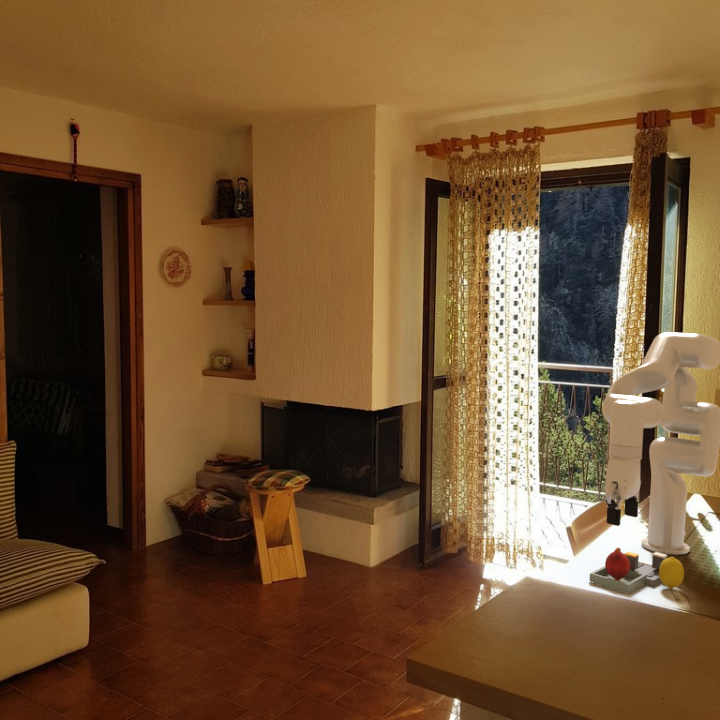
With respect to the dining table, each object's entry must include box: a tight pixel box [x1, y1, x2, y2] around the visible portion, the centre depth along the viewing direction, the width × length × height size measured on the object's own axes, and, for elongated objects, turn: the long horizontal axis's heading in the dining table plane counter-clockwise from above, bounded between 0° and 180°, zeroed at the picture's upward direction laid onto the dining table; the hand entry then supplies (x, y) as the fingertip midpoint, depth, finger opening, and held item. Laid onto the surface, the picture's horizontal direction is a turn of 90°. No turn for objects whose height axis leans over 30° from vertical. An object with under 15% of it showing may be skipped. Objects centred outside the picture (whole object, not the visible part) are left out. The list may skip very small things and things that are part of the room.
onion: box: [604, 547, 630, 580], centre depth 183 cm, size 6×6×8 cm
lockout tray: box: [588, 565, 646, 595], centre depth 183 cm, size 10×10×2 cm
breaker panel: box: [630, 560, 662, 587], centre depth 188 cm, size 11×9×2 cm
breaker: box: [651, 552, 668, 569], centre depth 188 cm, size 2×3×4 cm
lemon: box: [659, 556, 685, 590], centre depth 180 cm, size 6×6×8 cm
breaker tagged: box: [624, 551, 640, 570], centre depth 188 cm, size 2×3×4 cm
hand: (622, 520), depth 182 cm, fingers open, 9 cm apart
